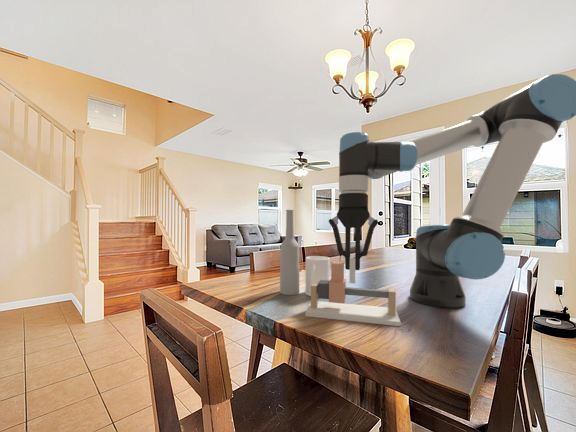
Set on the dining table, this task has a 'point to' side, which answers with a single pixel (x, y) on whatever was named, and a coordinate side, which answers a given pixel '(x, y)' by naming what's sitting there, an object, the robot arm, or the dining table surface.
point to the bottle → (289, 260)
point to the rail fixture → (353, 306)
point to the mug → (316, 271)
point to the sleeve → (337, 283)
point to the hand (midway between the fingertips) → (352, 281)
